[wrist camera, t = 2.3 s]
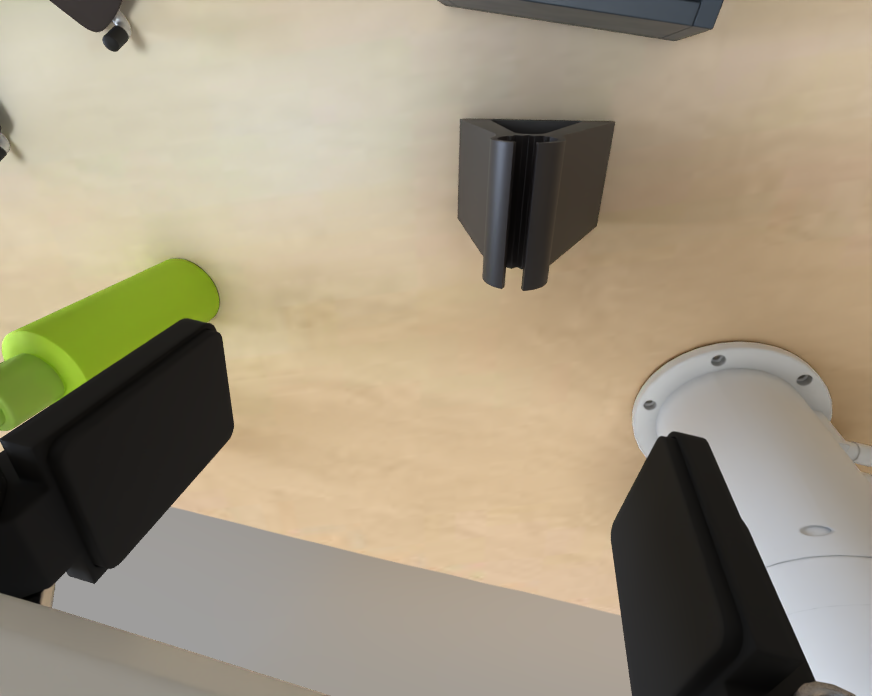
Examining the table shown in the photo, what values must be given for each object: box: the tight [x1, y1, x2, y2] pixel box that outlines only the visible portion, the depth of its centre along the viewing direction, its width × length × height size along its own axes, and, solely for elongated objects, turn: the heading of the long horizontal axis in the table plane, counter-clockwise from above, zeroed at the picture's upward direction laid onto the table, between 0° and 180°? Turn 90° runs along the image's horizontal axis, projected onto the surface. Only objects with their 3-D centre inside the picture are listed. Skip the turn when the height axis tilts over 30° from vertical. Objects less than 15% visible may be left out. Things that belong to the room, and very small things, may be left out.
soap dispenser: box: [0, 259, 219, 431], centre depth 31 cm, size 6×7×20 cm
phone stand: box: [458, 119, 615, 291], centre depth 24 cm, size 9×6×12 cm, turn 89°
